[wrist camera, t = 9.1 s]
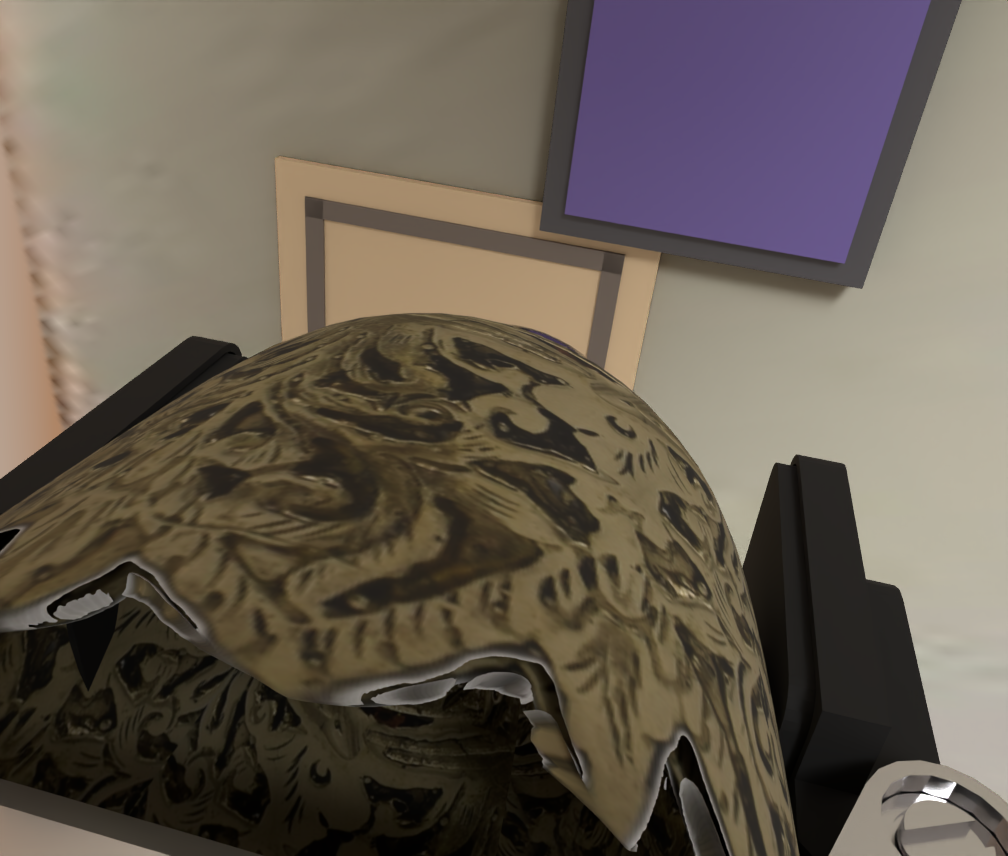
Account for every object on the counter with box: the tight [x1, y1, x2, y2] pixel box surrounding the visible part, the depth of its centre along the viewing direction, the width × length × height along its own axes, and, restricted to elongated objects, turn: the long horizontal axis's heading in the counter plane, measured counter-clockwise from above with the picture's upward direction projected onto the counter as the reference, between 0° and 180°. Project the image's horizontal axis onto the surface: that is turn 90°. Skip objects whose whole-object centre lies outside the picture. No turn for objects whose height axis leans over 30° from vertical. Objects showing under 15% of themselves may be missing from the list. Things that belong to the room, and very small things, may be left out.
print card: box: [275, 156, 661, 391], centre depth 29 cm, size 12×12×1 cm
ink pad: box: [539, 0, 962, 289], centre depth 22 cm, size 11×9×1 cm
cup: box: [0, 313, 799, 856], centre depth 9 cm, size 8×7×8 cm
